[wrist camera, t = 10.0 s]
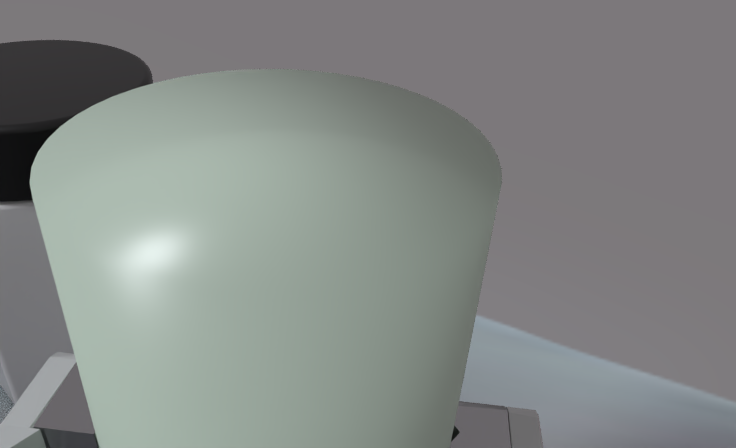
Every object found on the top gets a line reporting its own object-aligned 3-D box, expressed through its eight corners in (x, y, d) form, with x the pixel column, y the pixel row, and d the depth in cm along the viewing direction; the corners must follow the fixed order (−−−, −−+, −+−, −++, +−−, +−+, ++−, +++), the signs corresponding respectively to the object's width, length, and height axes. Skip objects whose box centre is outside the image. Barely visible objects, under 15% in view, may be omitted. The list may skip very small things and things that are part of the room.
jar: (227, 345, 28) (206, 89, 22) (41, 452, 23) (-61, 161, 17) (125, 254, 33) (82, 23, 27) (-46, 326, 28) (-152, 63, 22)
